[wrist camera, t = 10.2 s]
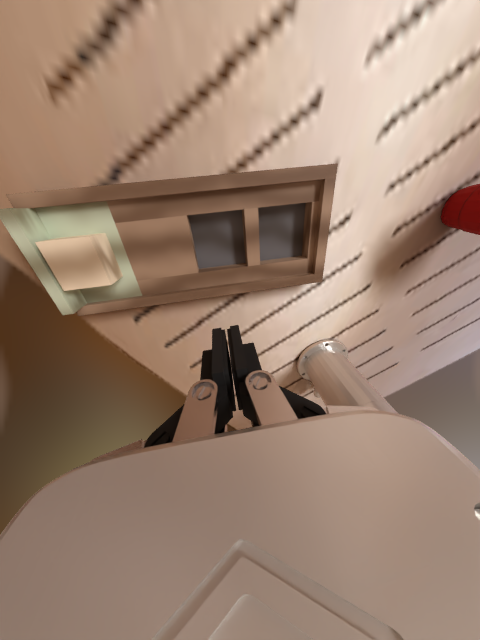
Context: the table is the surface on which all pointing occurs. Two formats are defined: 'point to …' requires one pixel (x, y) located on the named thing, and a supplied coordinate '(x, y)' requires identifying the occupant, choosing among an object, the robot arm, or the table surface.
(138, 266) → the tray
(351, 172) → the table surface
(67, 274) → the maple block
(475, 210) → the plastic cup
